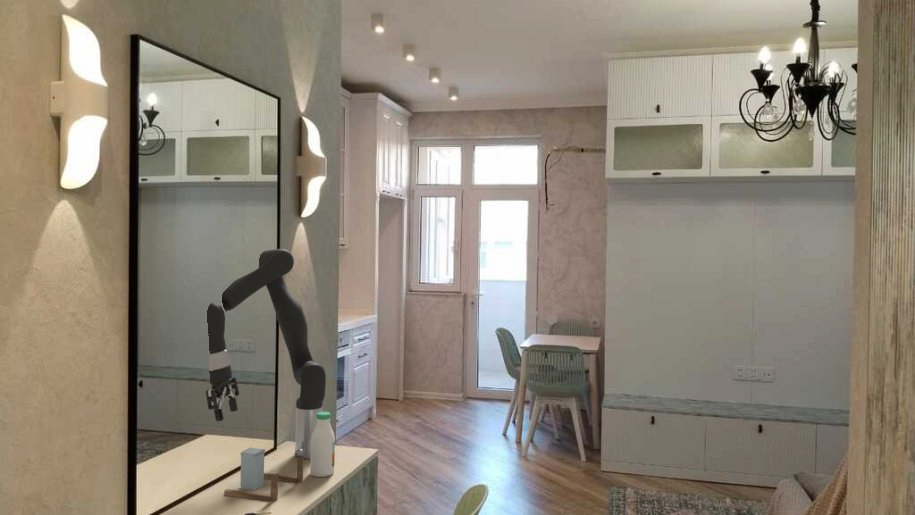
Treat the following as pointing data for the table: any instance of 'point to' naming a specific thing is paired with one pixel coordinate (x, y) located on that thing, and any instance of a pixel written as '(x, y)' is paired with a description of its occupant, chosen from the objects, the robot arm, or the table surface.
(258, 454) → the lidded storage bin
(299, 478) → the bay
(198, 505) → the table surface
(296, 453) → the metal cylinder with tab
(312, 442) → the milk bottle
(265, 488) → the table surface
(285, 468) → the table surface
